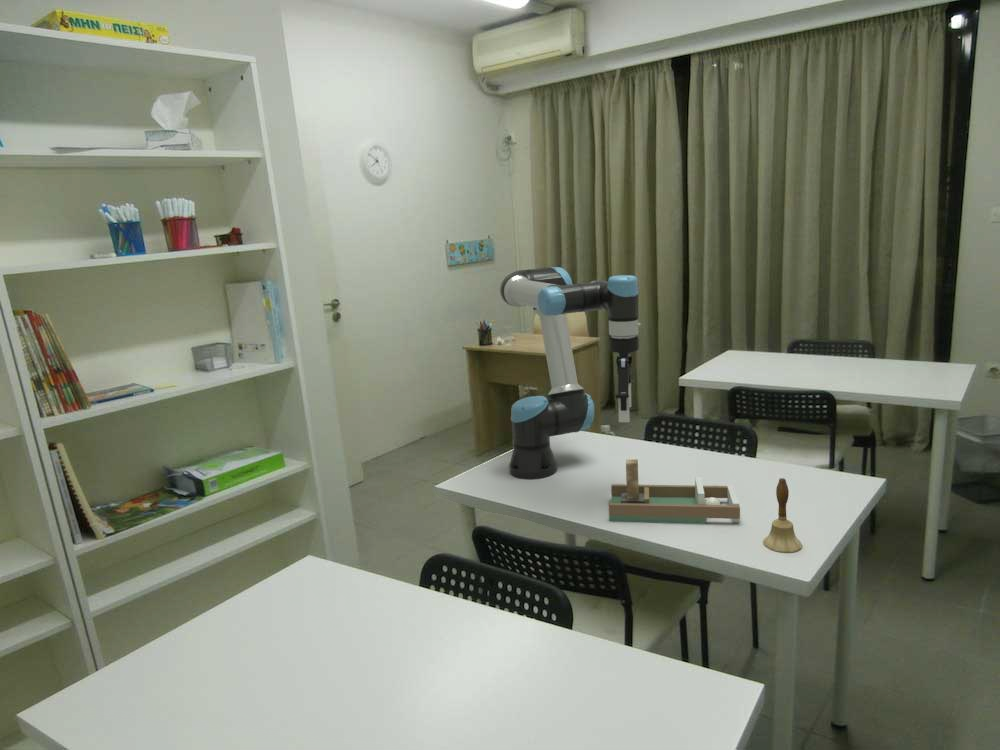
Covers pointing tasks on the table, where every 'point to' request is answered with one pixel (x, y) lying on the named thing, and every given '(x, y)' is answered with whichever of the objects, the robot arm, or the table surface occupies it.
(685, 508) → the pitch
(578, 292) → the robot arm
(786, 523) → the hand bell
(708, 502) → the ball
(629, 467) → the kicker
